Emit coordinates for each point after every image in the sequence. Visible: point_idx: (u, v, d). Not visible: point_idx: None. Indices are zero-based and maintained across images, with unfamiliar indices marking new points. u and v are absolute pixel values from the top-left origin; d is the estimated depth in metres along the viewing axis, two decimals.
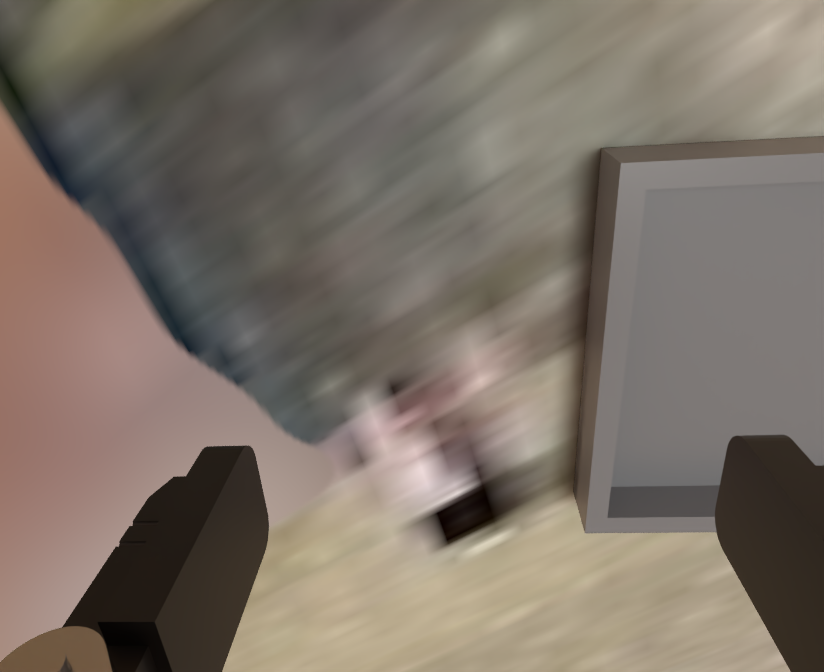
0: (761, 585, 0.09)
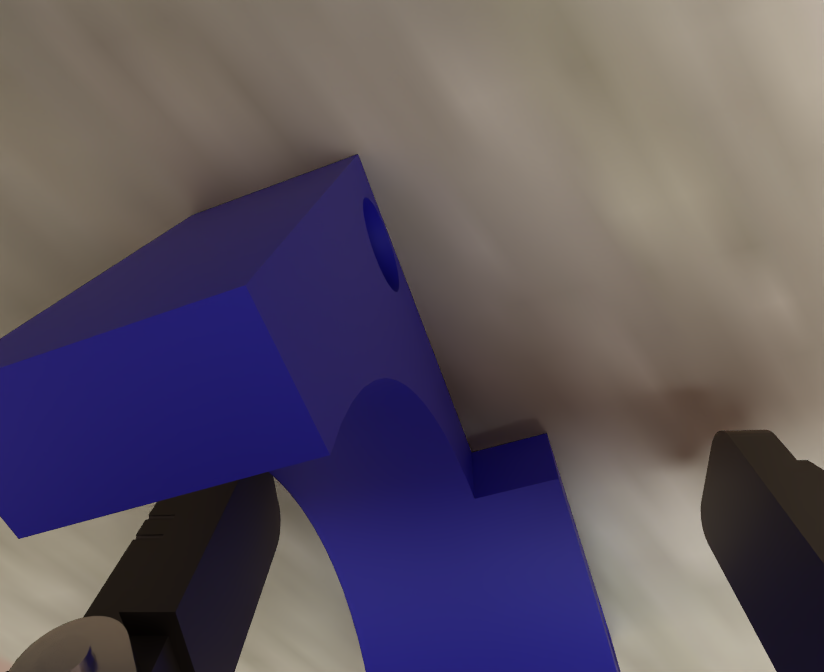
0: (744, 578, 0.09)
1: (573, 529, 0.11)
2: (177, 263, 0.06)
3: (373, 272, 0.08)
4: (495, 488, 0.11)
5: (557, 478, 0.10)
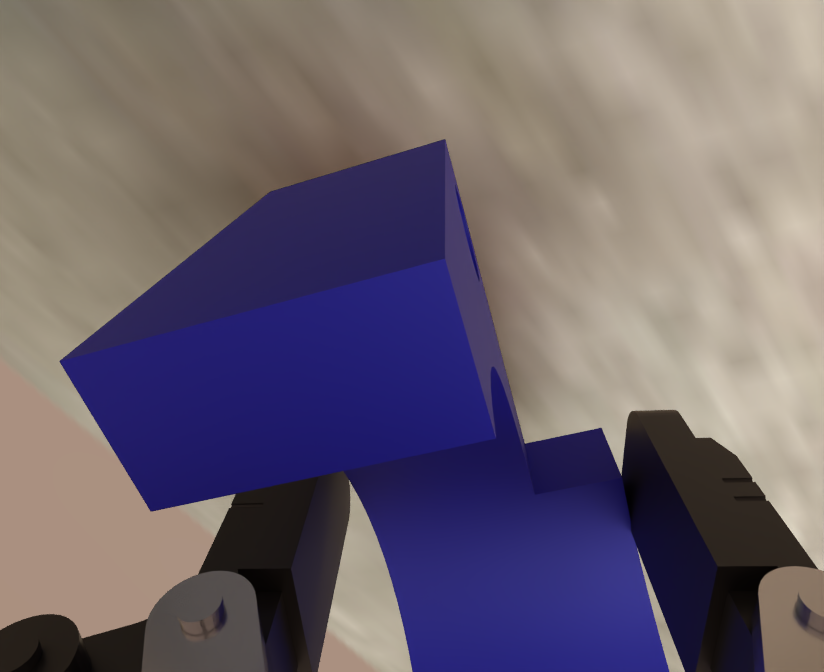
0: (648, 547, 0.10)
1: None
2: (308, 237, 0.06)
3: (470, 260, 0.08)
4: (556, 485, 0.10)
5: (620, 477, 0.10)
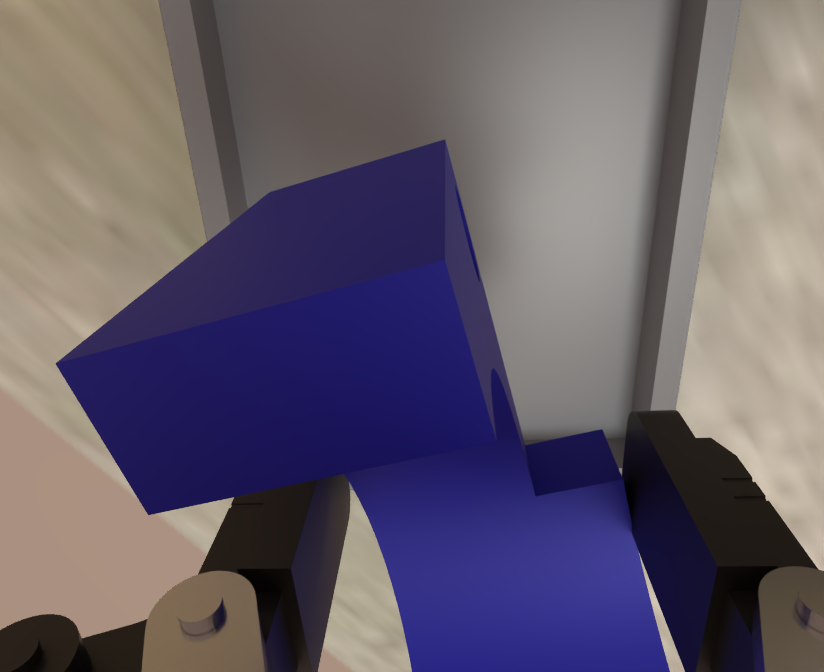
0: (648, 547, 0.10)
1: None
2: (307, 238, 0.06)
3: (470, 260, 0.08)
4: (556, 487, 0.10)
5: (621, 479, 0.10)
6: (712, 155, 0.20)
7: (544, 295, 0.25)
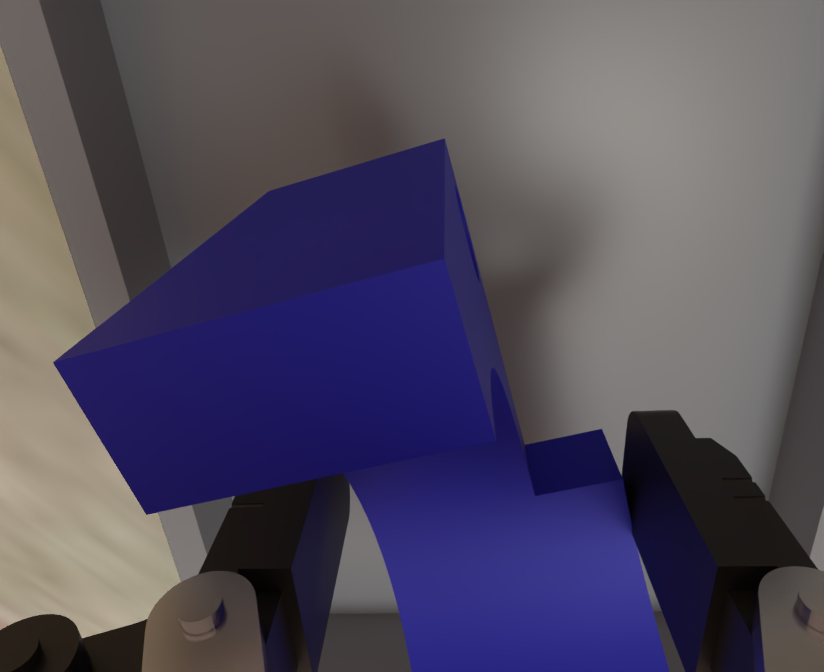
0: (648, 547, 0.10)
1: None
2: (306, 236, 0.06)
3: (470, 259, 0.08)
4: (556, 486, 0.10)
5: (621, 478, 0.10)
6: None
7: None
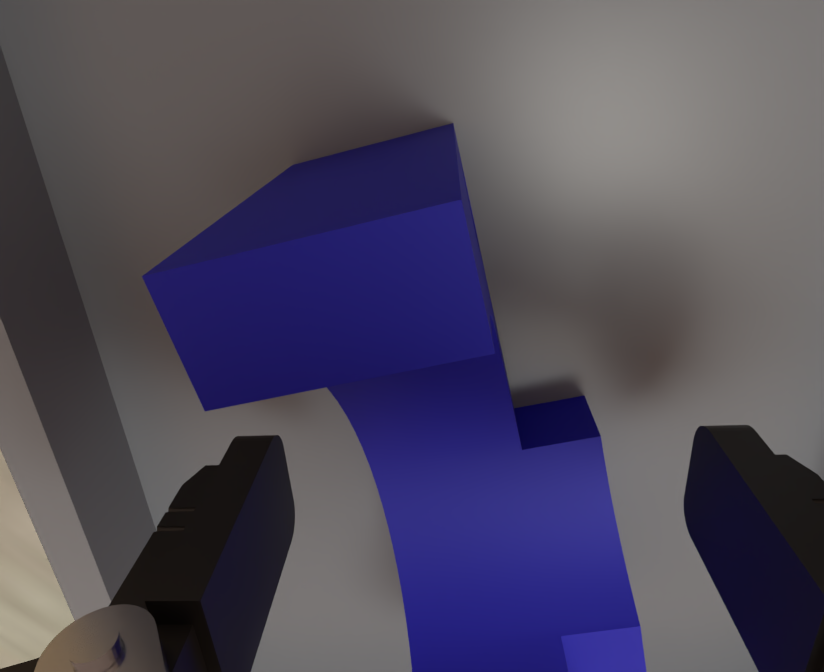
0: (723, 570, 0.09)
1: (607, 484, 0.12)
2: (340, 193, 0.07)
3: (473, 227, 0.09)
4: (541, 442, 0.12)
5: (599, 436, 0.11)
6: None
7: (646, 495, 0.14)
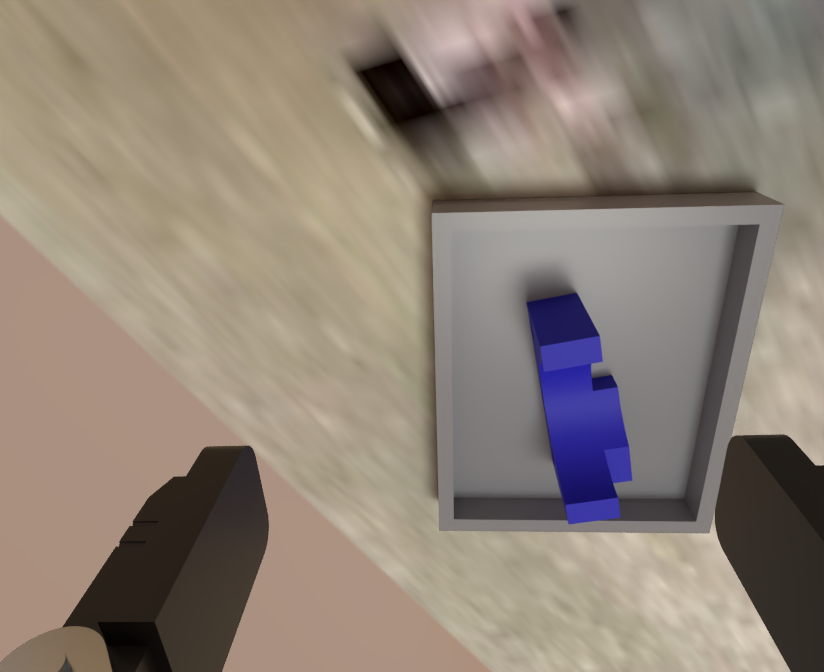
0: (761, 585, 0.09)
1: (619, 402, 0.37)
2: (565, 326, 0.32)
3: None
4: (598, 389, 0.37)
5: (617, 386, 0.36)
6: (749, 346, 0.34)
7: (636, 410, 0.39)
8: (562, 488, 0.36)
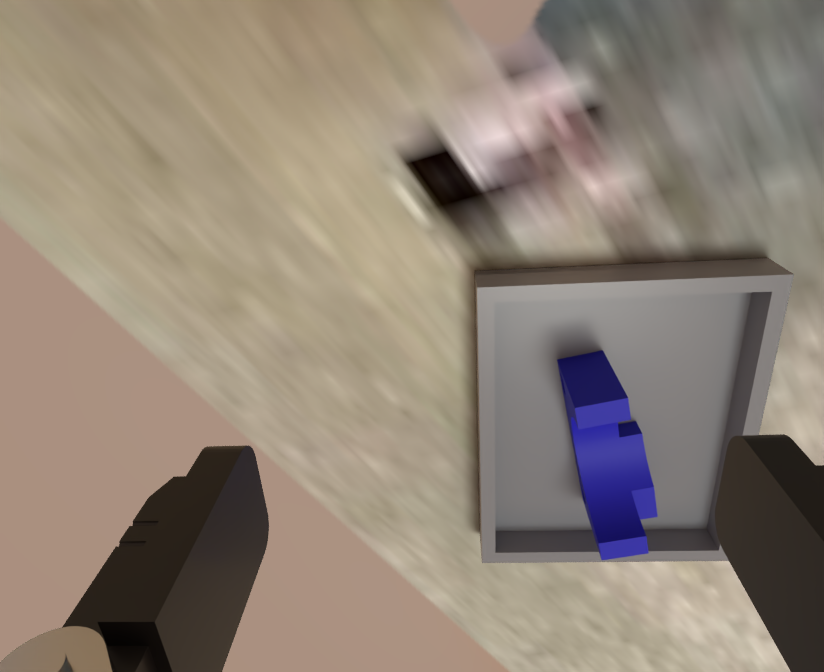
0: (761, 585, 0.09)
1: (644, 447, 0.40)
2: (596, 386, 0.36)
3: None
4: (624, 435, 0.40)
5: None
6: (765, 395, 0.38)
7: (661, 451, 0.42)
8: (594, 527, 0.40)
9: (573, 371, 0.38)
